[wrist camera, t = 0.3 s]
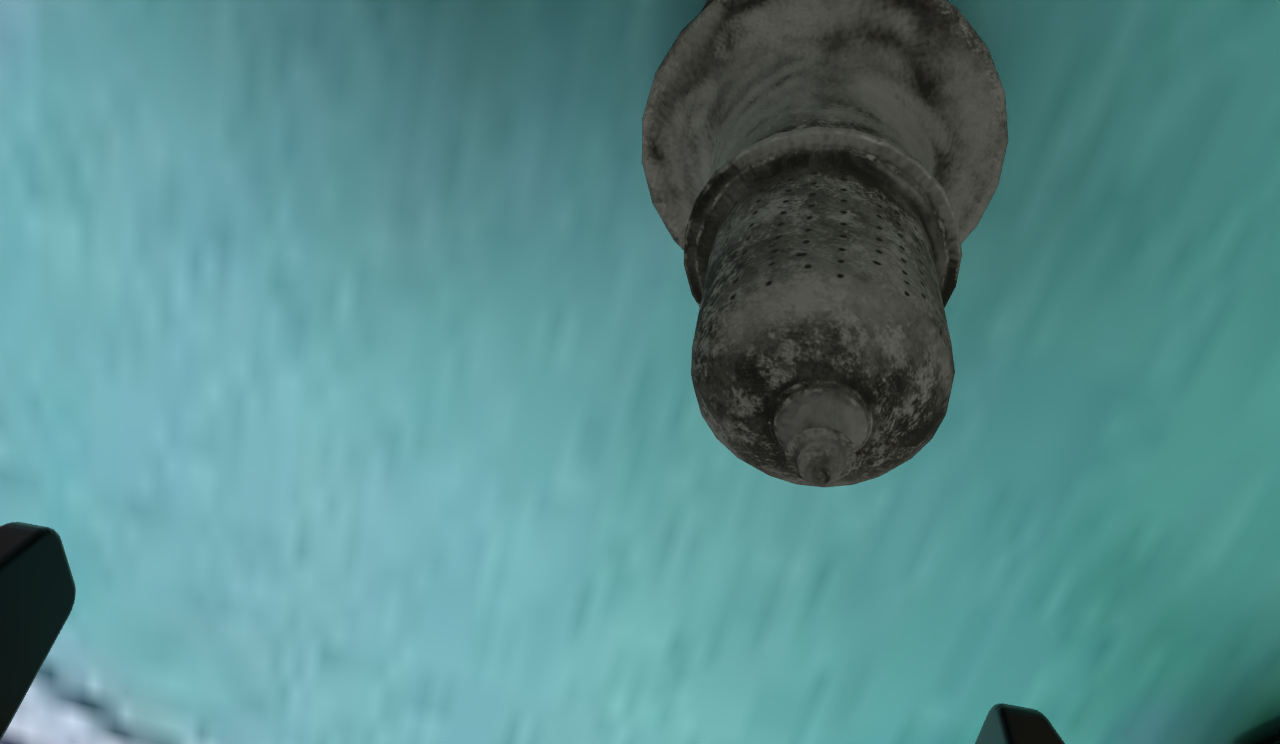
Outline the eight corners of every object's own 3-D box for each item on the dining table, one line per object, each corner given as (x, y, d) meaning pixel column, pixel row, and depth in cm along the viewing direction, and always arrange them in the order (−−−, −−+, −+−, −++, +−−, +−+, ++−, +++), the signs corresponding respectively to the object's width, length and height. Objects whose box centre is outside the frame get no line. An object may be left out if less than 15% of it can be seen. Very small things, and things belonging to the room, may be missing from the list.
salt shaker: (749, -143, 18) (663, 68, 8) (1045, 7, 18) (1317, 379, 8) (620, 149, 21) (444, 560, 11) (874, 267, 21) (924, 756, 12)
